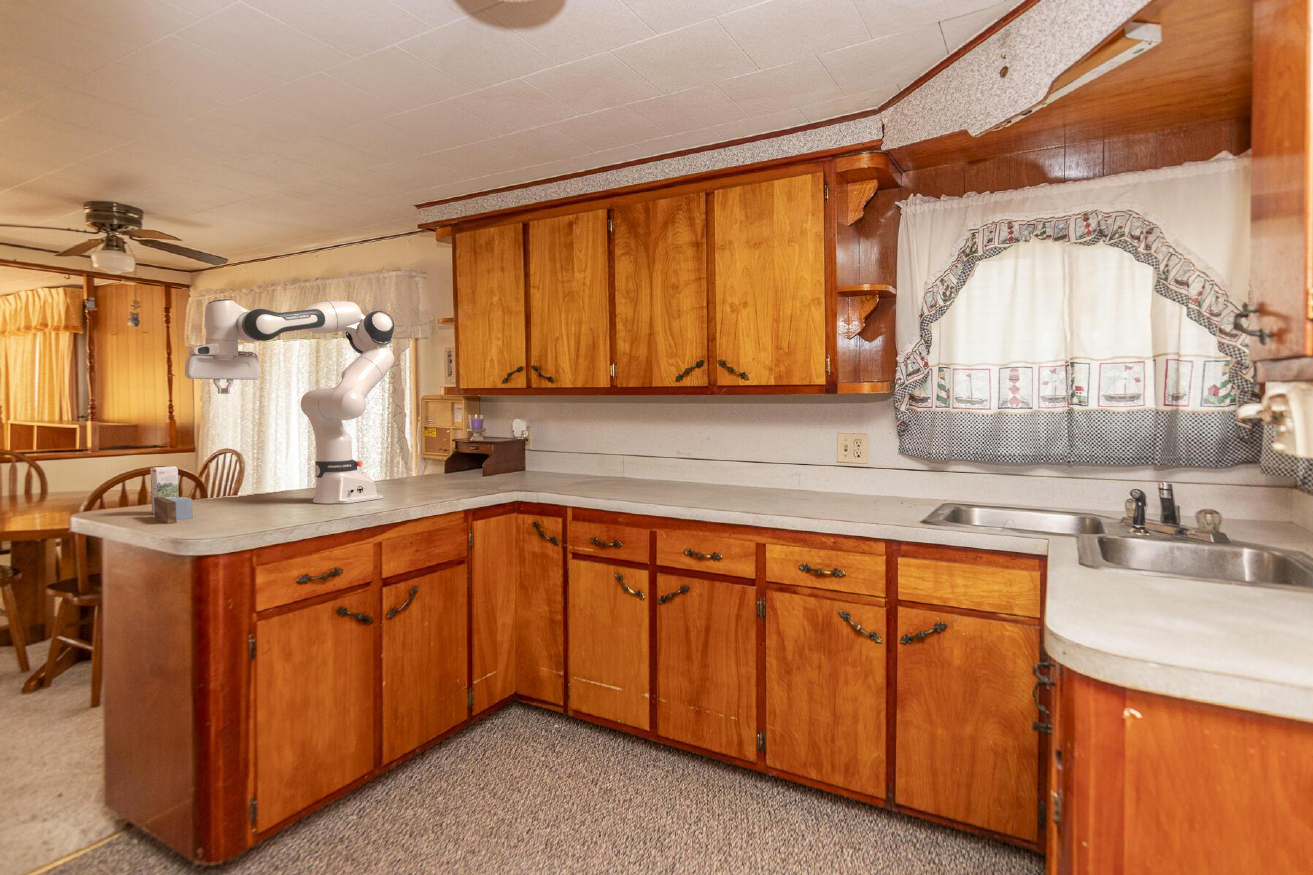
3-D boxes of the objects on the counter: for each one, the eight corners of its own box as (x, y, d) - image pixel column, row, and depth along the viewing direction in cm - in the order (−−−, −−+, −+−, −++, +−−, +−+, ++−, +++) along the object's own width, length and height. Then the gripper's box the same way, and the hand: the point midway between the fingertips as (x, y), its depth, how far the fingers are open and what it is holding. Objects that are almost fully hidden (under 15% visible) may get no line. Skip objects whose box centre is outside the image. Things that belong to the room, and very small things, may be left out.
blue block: (186, 516, 208) (185, 496, 207) (192, 519, 203) (192, 499, 203) (166, 518, 204) (165, 498, 204) (172, 521, 199) (171, 500, 199)
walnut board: (162, 516, 207) (161, 496, 207) (176, 522, 196) (175, 502, 196) (154, 517, 206) (153, 497, 205) (168, 523, 195) (167, 502, 194)
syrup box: (173, 511, 217) (171, 465, 216) (179, 513, 213) (177, 466, 212) (151, 513, 212) (149, 466, 211) (157, 515, 209) (155, 468, 208)
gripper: (254, 352, 228) (256, 393, 229) (182, 349, 213) (184, 393, 214) (261, 351, 224) (262, 393, 225) (187, 348, 209) (189, 393, 210)
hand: (223, 393), depth 219 cm, fingers closed
